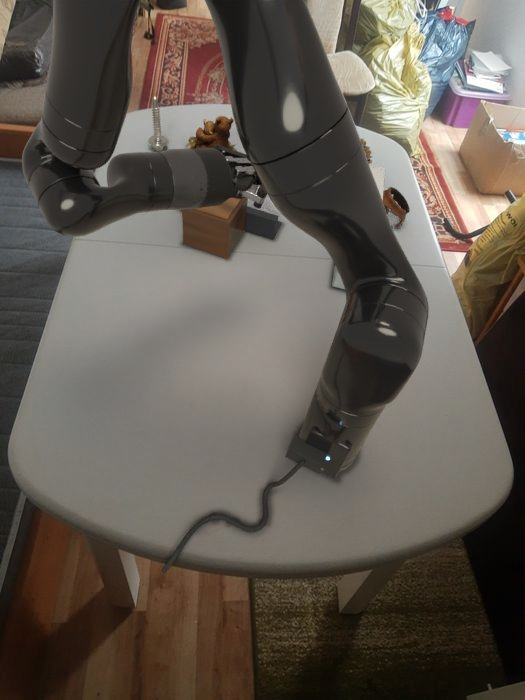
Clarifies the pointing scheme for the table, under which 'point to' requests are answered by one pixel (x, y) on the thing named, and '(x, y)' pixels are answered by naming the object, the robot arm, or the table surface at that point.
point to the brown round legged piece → (390, 203)
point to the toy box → (215, 226)
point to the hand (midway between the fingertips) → (279, 172)
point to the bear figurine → (213, 134)
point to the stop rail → (261, 223)
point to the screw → (157, 129)
